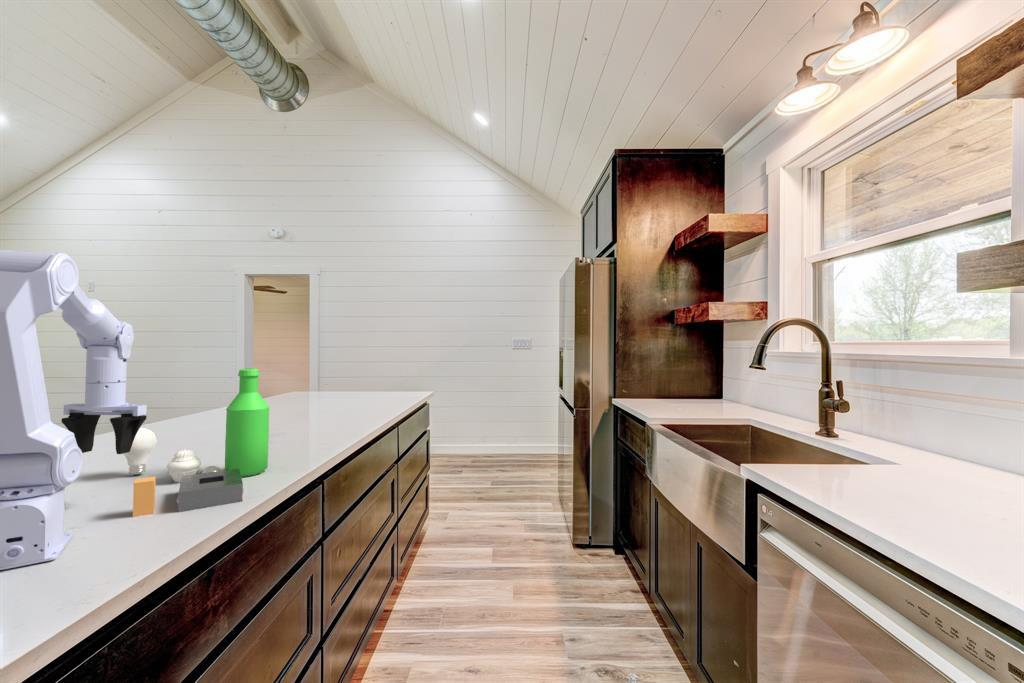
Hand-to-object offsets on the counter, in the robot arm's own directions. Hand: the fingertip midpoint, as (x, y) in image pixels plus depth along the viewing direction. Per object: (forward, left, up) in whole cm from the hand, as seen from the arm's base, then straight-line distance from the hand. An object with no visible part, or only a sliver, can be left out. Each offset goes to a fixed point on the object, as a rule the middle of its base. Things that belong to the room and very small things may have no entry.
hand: (104, 452), depth 81 cm
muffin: (+9, -12, -10) cm, 18 cm away
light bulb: (+19, -3, -10) cm, 21 cm away
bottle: (+8, -24, -10) cm, 27 cm away
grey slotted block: (-5, -17, -10) cm, 20 cm away
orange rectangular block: (-10, -7, -10) cm, 16 cm away
